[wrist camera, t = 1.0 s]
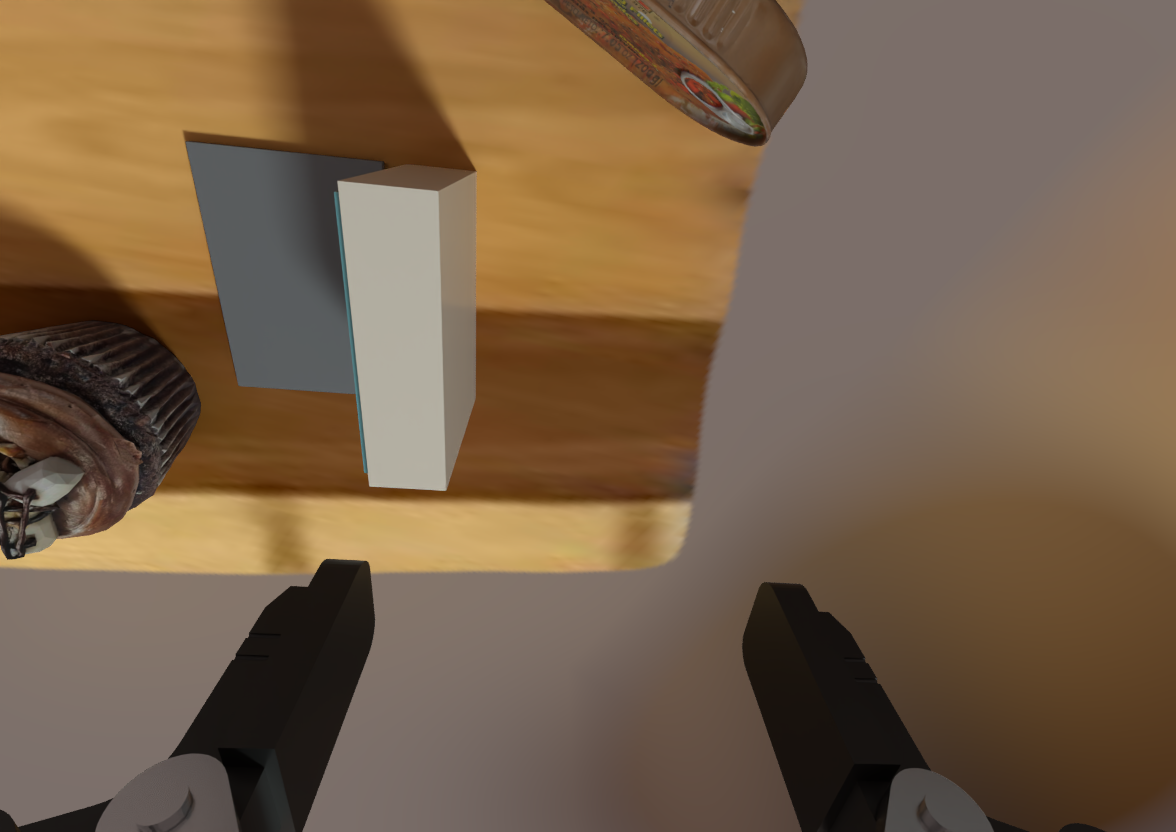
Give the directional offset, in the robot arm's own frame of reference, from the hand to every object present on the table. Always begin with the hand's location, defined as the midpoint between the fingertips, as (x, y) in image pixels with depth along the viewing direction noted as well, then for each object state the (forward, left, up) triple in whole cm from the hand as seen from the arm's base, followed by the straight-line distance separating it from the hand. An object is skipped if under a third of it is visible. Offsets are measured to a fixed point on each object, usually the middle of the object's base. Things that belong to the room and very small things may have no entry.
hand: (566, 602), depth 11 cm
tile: (0, -6, -21) cm, 22 cm away
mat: (0, -13, -20) cm, 24 cm away
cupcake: (+7, -24, -21) cm, 32 cm away
